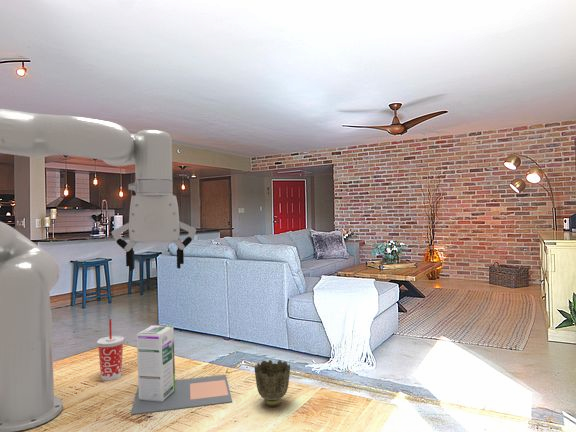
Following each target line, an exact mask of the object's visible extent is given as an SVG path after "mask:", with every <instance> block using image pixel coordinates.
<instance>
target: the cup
mask: <svg viewBox="0 0 576 432" xmlns="http://www.w3.org/2000/svg"><path fill="white" fill-rule="evenodd" d="M253 369H254V375H255V383H256V384H255V385H256V388H257V392H258V394H259V396H261V397H262V398H263V403H264V405H265V406H266V407H269V408H275V407H279V406H280V405H281V403H282V398H283V397H284V396H285V395H286V394H287V392H288V389H289V383H290V374H291V364H288V362H287V361H282V360H281V359H279V360H278V361H277V362H276V363H275V362H274V363H273V360H271V359H269V360H268V361H267V360H262V361H261V363H258V362H257V364H256V365H254V366H253Z"/></svg>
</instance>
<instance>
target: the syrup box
mask: <svg viewBox="0 0 576 432" xmlns="http://www.w3.org/2000/svg"><path fill="white" fill-rule="evenodd" d="M174 330H175V329H174V326H171V325H162V324H161V325H158V324H157V325H150V326H149V327H147V328H145V329H144V330H142V331H139V332H137V333H136V352H137V353H136V354H137V356H136V357H137V358H136V359H137V380H138V381H137V382H138V383H137V384H138V385H137V389H138V388H139V399H140V400H146V401H157V402H163V401H164V400H165V399H166V398H167V397H168V396H169V395H170V394H171V393H172V392H173V391H175V380H176V369H175V368H176V366H175V365H176V364H175V361H176V360H175V336H174V333H175V332H174Z"/></svg>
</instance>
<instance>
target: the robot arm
mask: <svg viewBox="0 0 576 432" xmlns="http://www.w3.org/2000/svg"><path fill="white" fill-rule="evenodd" d="M172 141H173V140H172V136H171V135H170V133H169V132H166V131H163V130H160V129H159V130H157V129H143V130H139V131H138V132H137V133H131V132H130V131H129V130H128V129H127V128H125V126H123V125H121V124H119V123H116V122H113V121H107V120H102V119H95V118H89V117H83V116H82V117H81V116H76V115H75V116H73V115H64V114H63V115H62V114H61V115H60V114H48V113H45V114H44V113H35V112H34V113H33V112H27V111H20V110H15V109H7V108H2V107H1V108H0V154H6V155H14V156H20V157H21V156H22V157H28V158H29V157H30V158H46V157H49V156H51V157H52V156H69V157H79V158H80V157H81V158H88V159H94V160H101V161H103V162H104V163H105V164H107V165H110V166H115V167H123V166H132V165H135V166H134V167H135V175H134V176H135V180H134V182H132V183H129V184H128V185H127V186H128V188H127V190H128V191H133V192H134V193H135V195H131V199H130V204H129V205H130V206H129V217H128V222H126V223H125V224H123V225H121V226H119V227H117V228H115V229H114V230H112V231H111V235H112V237H113V239H114V240H115V242H116V244H117V245H118V246H119V247H120V248H121V249H123V250H124V251H125V262H126V263H125V267H128V268H129V272H130V271H134V269H136V267H135V264H136V262H135V250H134V247H135V246H136V245H137V243H138V244H139V243H141V244H143V243H144V244H145V243H170V242H173V243H174V245H176V247H177V249H176V268H177V269H181V265H184V264H185V263H184V261H185V260H184V259H185V258H184V254H185V253H184V250H185V249H186V247H187V246H188V245H189V244H191V242H193V241H192V240H193V239H194V237H195V235H196V232H197V229H196V228H194V227H193V226H191V225H189V224H187V223H184V222H182V221H180V214H179V212H180V211H179V205H178V199H177V196H176V195H174V194H173V142H172ZM180 229H182V230H183V231H185V232H187V233H188V234H187V236H186V237H185V239H183V241H182V240H181V239H180V231H181V230H180ZM127 230H128V237H129V241H128V242H127V241H125V240H124V238H123V237H122V235H121V234H122V233H124V232H126V231H127ZM60 272H61V270H60V267H59V264H58V261H57V260H56V259H55V258H54V257H53V256H52V255H51V254H49V252H47V251H46V250H44V249H43V248H42V247H40V246H39V245H37V244H36V243H35V242H33V241H32V240H30V239H29V238H28V237H26V236H25V235H23V234H22V233H21V232H20V231H18V230H16V229H15V228H14V227H12V226H10V225H9V224H7V223H5V222H3V221H0V432H20V431H25V430H29V429H32V428H35V427H39V426H42V425H43V424H45V423H47V422H49V421H51V420H53V419H54V418H56V417H58V416H59V414H60V413H61V412H62V411H63V408H64V405H63V404H64V402H63V400H62V399H61V398H60V397H57V396H55V388H54V387H55V384H54V381H55V380H54V344H53V343H54V341H53V340H54V339H53V338H54V337H53V336H54V335H53V315H52V306H51V297H50V296H51V295H50V291H52V290H53V288H55V286H56V285H57V284H58V282H59V279H60V276H61V275H60V274H61V273H60Z"/></svg>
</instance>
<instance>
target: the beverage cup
mask: <svg viewBox="0 0 576 432" xmlns="http://www.w3.org/2000/svg"><path fill="white" fill-rule="evenodd" d="M108 321H109V322H108V323H109V327H108V328H109V329H108V330H109V334H108V335H109V336H105V337H101V338H99V339H98V340H97V341H96V346H97V347H98V355H99V369H100V379H101V380H102V381H113V380H117V379H119V378H121V376H122V371H123V369H122V368H123V354H124V353H123V349H124V348H123V347H124V346H123V345H124V342H125V337H124V336H121V335H112V334H113V333H112V330H113V329H112V319H111V318H109V319H108Z"/></svg>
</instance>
